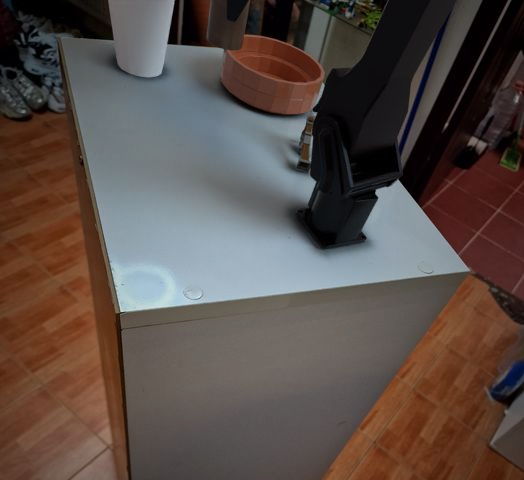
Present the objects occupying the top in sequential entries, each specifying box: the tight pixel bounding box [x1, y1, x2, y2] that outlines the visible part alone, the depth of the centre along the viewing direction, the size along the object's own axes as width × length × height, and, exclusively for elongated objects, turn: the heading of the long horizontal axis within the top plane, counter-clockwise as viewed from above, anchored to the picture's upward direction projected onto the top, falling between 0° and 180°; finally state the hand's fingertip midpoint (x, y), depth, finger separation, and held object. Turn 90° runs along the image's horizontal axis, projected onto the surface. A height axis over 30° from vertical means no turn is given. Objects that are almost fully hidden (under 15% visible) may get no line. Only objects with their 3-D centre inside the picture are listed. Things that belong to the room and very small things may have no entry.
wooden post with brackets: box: [295, 112, 316, 173], centre depth 58 cm, size 2×8×4 cm, turn 177°
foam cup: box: [107, 0, 176, 78], centre depth 58 cm, size 10×9×13 cm
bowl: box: [219, 34, 326, 115], centre depth 66 cm, size 15×15×5 cm
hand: (229, 12), depth 50 cm, fingers closed on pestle, 4 cm apart
